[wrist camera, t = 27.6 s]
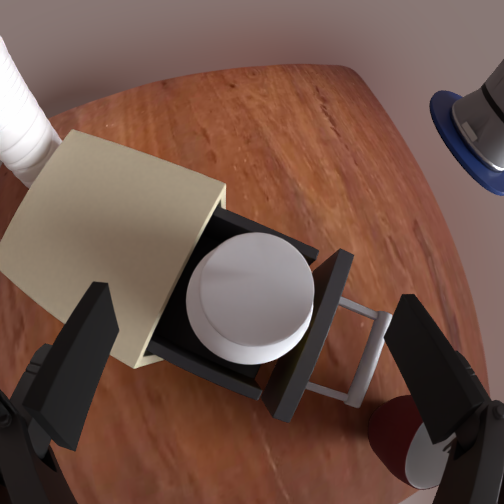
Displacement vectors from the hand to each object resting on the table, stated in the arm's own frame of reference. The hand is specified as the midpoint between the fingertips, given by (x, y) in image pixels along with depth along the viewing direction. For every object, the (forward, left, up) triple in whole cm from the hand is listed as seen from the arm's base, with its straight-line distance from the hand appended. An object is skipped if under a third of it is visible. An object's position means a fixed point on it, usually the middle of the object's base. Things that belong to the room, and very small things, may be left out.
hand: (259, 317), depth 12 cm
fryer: (+13, -1, -14) cm, 19 cm away
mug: (-18, +3, -14) cm, 23 cm away
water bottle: (+28, -6, -14) cm, 32 cm away
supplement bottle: (+1, -1, -12) cm, 12 cm away
